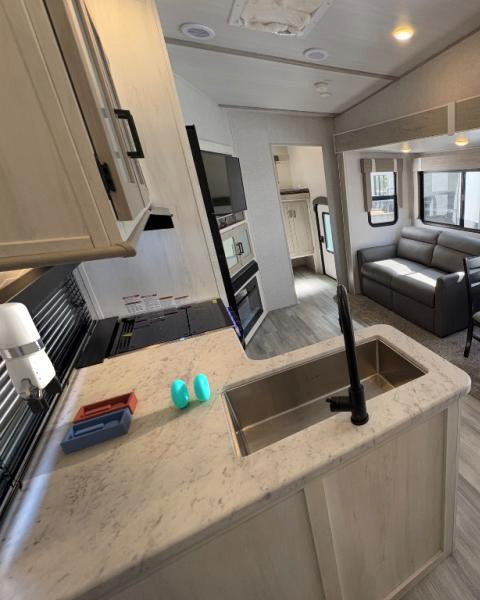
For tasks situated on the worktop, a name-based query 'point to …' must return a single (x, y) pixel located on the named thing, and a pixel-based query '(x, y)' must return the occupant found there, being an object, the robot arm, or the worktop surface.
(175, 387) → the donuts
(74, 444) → the blue bin
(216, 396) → the worktop surface
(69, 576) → the worktop surface
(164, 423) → the worktop surface
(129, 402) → the red bin
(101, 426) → the blue spoon
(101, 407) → the red elongated piece
